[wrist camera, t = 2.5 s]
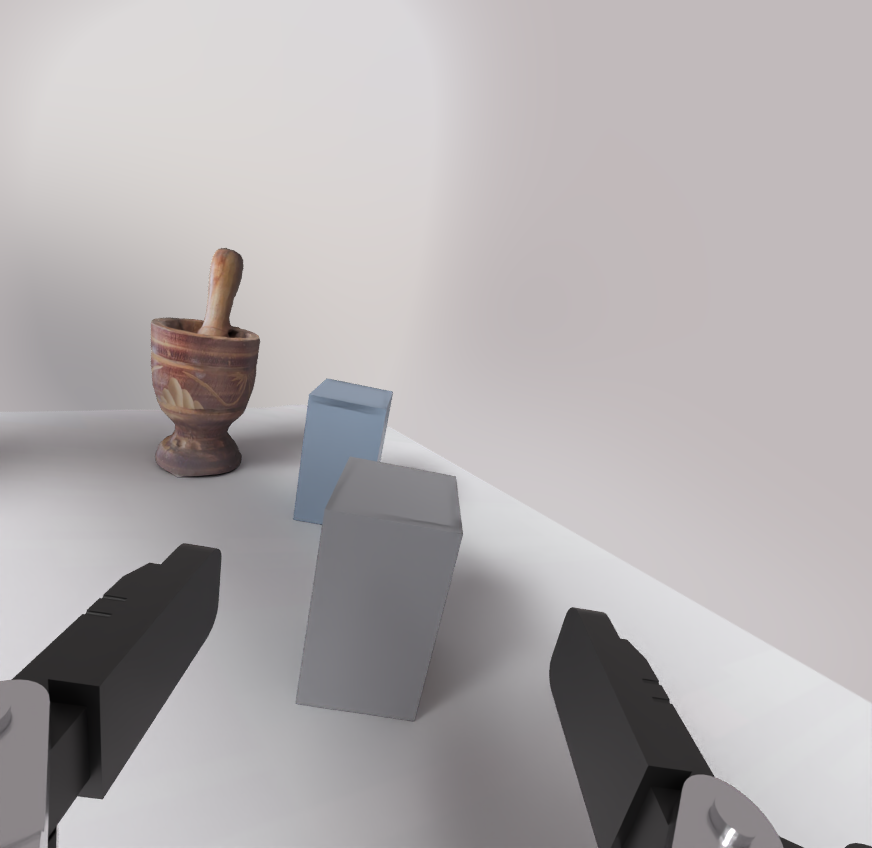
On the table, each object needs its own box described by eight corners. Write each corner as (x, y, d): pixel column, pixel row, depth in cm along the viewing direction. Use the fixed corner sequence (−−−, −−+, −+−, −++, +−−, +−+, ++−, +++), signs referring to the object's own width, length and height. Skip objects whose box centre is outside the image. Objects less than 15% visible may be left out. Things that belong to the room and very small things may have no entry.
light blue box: (293, 519, 37) (309, 394, 34) (311, 487, 43) (326, 378, 40) (364, 532, 37) (386, 409, 34) (373, 499, 43) (393, 391, 40)
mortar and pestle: (147, 433, 47) (149, 231, 41) (235, 432, 51) (249, 252, 46) (150, 483, 38) (154, 235, 32) (256, 477, 43) (277, 261, 37)
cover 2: (295, 703, 22) (324, 509, 19) (323, 616, 28) (349, 456, 24) (414, 721, 22) (462, 534, 19) (417, 632, 28) (455, 476, 25)
